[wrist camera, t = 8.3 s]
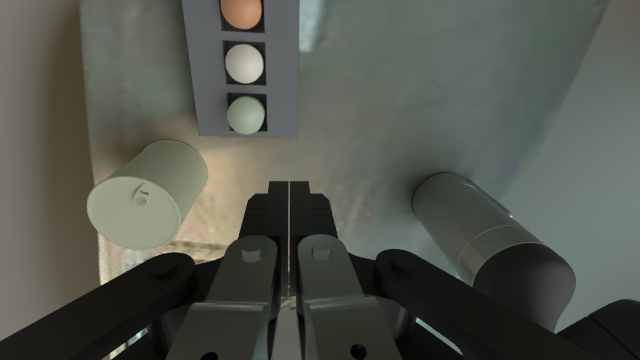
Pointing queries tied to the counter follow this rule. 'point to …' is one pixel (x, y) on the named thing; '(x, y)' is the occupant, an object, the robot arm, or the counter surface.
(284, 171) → the counter surface
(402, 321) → the robot arm
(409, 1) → the counter surface
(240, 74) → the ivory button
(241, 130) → the sage button
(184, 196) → the can
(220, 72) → the button panel
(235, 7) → the terracotta button
